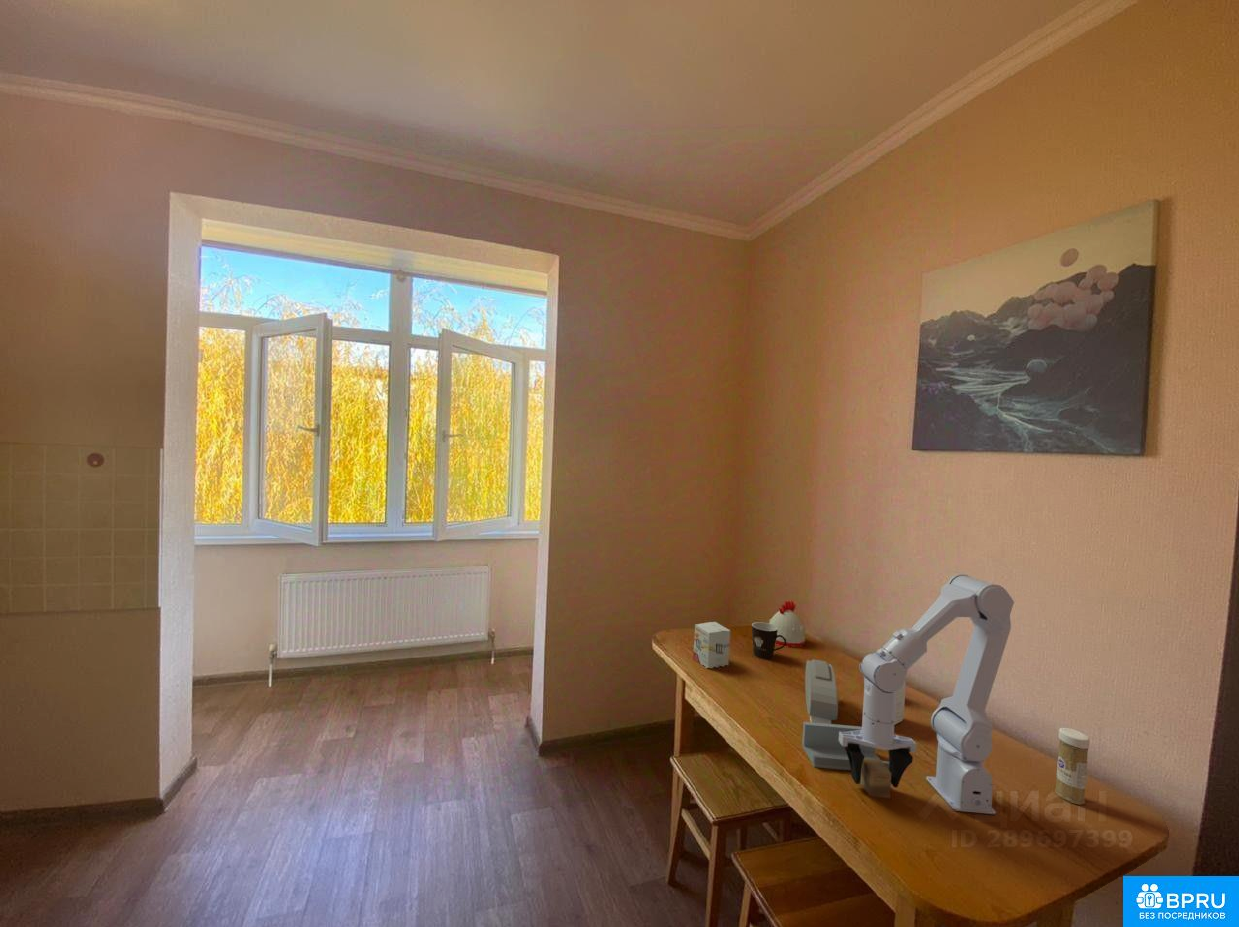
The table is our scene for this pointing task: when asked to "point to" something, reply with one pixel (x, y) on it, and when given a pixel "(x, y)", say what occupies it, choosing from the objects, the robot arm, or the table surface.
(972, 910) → the table surface
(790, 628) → the white and red dome
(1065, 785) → the sprinkles bottle
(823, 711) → the alarm clock
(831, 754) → the wall shelf
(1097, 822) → the table surface
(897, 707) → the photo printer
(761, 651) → the coffee mug
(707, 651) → the ink box
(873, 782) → the cabinet block
